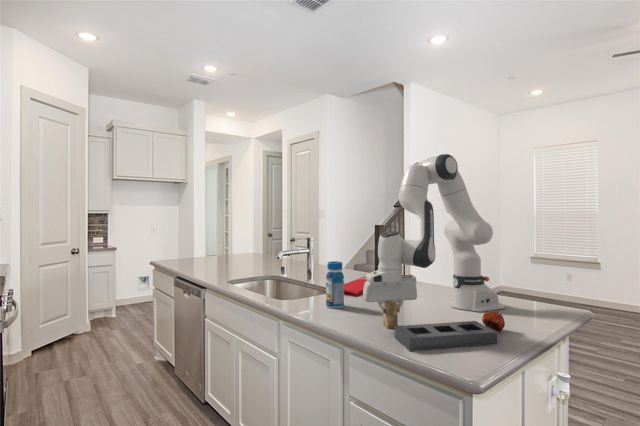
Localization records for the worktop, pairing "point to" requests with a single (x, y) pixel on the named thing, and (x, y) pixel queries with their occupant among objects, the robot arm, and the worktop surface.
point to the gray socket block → (445, 335)
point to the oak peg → (390, 314)
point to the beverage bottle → (334, 285)
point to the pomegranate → (493, 320)
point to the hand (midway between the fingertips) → (390, 312)
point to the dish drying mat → (354, 287)
